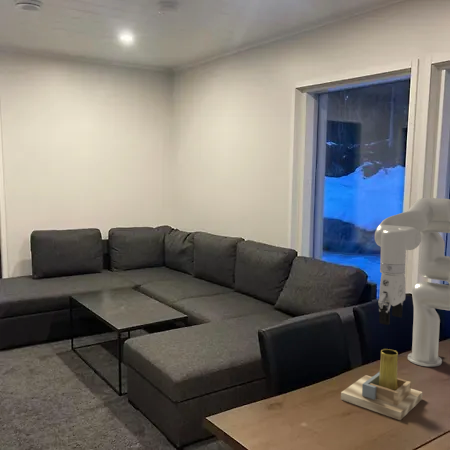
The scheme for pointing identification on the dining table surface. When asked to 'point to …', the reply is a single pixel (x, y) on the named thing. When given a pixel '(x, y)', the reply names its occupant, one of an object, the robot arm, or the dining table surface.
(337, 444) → the dining table surface
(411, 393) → the board
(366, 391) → the grey bracket
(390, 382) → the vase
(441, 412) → the dining table surface
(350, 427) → the dining table surface
